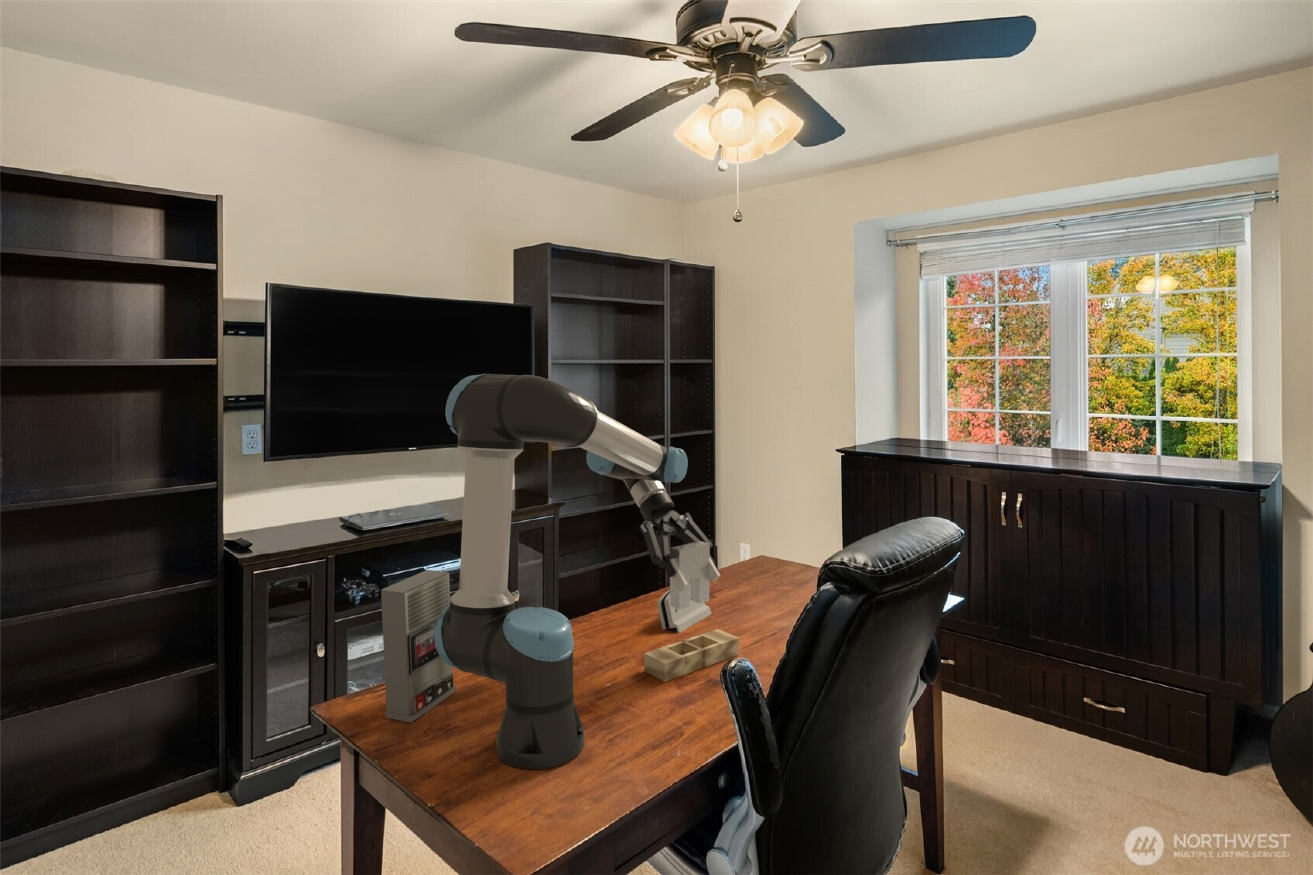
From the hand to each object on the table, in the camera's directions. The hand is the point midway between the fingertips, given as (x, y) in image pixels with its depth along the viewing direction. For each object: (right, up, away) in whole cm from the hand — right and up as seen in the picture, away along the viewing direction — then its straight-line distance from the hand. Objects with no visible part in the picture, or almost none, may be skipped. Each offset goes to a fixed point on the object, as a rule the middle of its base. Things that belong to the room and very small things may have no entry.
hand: (700, 583), depth 158 cm
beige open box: (-1, -18, +4) cm, 19 cm away
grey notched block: (-2, -5, +3) cm, 6 cm away
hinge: (-3, -16, +30) cm, 34 cm away
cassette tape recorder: (-55, -21, -15) cm, 61 cm away
